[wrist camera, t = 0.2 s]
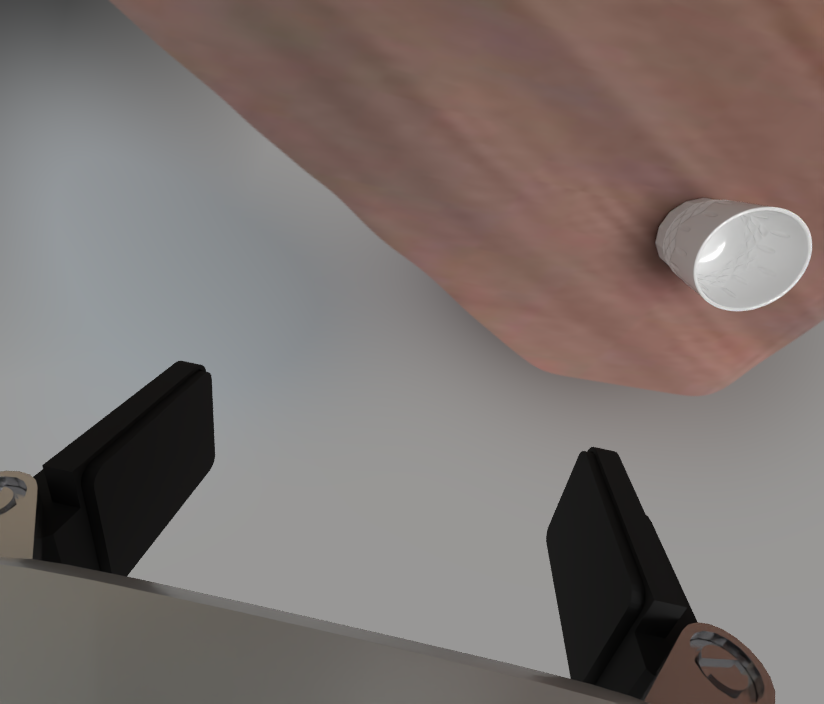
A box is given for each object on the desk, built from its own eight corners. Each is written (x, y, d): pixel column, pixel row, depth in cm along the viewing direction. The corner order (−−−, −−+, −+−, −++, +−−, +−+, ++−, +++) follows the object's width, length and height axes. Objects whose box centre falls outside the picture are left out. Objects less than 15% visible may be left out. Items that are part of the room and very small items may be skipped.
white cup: (746, 255, 43) (819, 287, 34) (659, 288, 45) (706, 326, 36) (730, 175, 40) (804, 187, 31) (638, 214, 42) (683, 235, 33)
